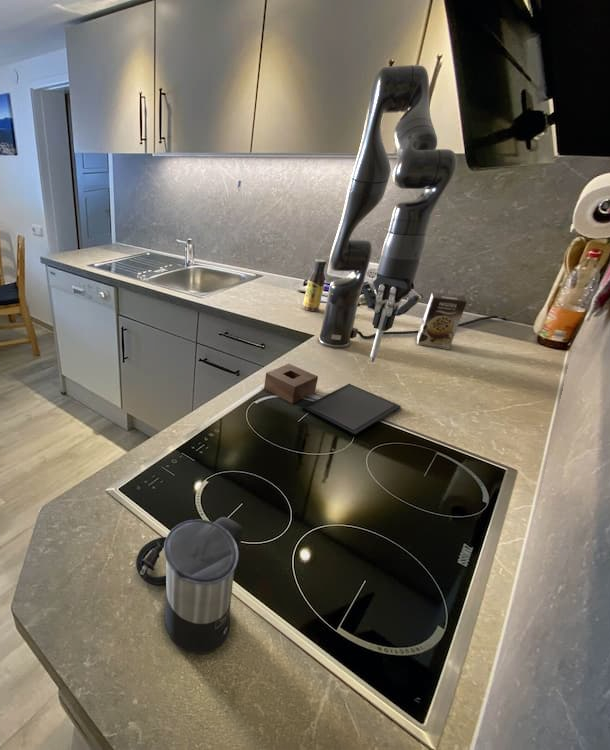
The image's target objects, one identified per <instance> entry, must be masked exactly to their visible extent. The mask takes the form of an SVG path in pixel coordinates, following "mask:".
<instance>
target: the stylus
mask: <svg viewBox="0 0 610 750" xmlns="http://www.w3.org/2000/svg"><path fill="white" fill-rule="evenodd" d="M387 309H388V307H385V308H383V310H382V314H381V318H380V321H379V325H378V329H376V332H375V334H376V336H375V337H374V340H373V345H372V348H371V351H370V362H371V363H374V362H375V359H377V358H378V354H379V351H380V350H379V349H380V347H381V342H382V339H383V336H384V335H383V332H385V331H382V326H383V322H384V318H385V316H386V313H387Z"/></svg>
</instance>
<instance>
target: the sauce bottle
mask: <svg viewBox="0 0 610 750" xmlns="http://www.w3.org/2000/svg"><path fill="white" fill-rule="evenodd" d="M326 266H327V260H326V259H322V258H318V259H317V258H316V259H315V260H314V266H313V271H312V273H311V275H310V276H309V278H308V280H307V284H306V288H305V293H304V298H303V303H302V308H303V310H305V311H308V312H316V311H318V310H319V308H320V306H321V301H322V297H323V292H324V287H325V282H326V277H325V269H326V268H325V267H326Z"/></svg>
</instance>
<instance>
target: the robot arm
mask: <svg viewBox="0 0 610 750" xmlns="http://www.w3.org/2000/svg"><path fill="white" fill-rule="evenodd" d="M429 80H430V79H429V72H428V70H427V69H426V67H425V66H423V65H420V64H411V65H392V66H391V65H390V66H383V67H381V68H379V70H378V71H377V72H376V75H375V77H374V79H373V82H372V86H371V89H370V94H369V99H368V104H367V107H366V114H365V119H364V125H363V130H362V134H361V140H360V143H359V144H360V145H359V148H358V152H357V155H356V158H355V163H354V166H353V169H352V172H351V175H350V180H349V185H348V188H347V193H346V196H345V197H346V198H345V202H344V207H343V211H342V215H341V219H340V223H339V225H338V227H337V228H338V229H337V231H336V235H335V238H334V241H333V244H332V247H331V250H330V255H329V261H328V262H329V263H328V264H329V268H330V270H332V271H335V272H350V273H349V274H348V275H345V277H342V278H338V279H335V280H333V281H331V283H330V284H329V288H328V293H327V298H326V304H325V308H324V313H323V319H322V322H321V323H322V324H321V328H320V333H319V337H318V342H319V343H320V344H322V345H324V346H326V347H330V348H346V347H348V346H349V345H350V342H351V339H354V338H357V335H359V337H360V338H362V339H365V340H366V339H369V340H370V339H373V338H375V336H376V333H373V334H371V335H364V334H363V333H362V332H361V331H360V330H359V329H358V328H356V327H354V325H355V321H356V314H357V310H358V305H359V300H360V297H361V293H363V297H364V300H365V302H366V306H367V308H368V309H370V310H373V311H374V314H373V319H372V322H371V323H372V326H373V329H376V330H377V329H378V325H379V321H380V318H381V314H382V310H383V308H388V309H387V313H386V316H385V318H384V322H383V326H382V331H384V332H383V336H385V335H414V334H418V333H419V330H420V329H418V330H402V331H401V330H400V331H389V330H391V329H392V328H393V326H394V322H395V320H396V319H395V318H396V317H400V316H403V315H405V314H406V313H407V312H409V311H410V310H411V309H412V308H414V307H415V306H416V305H417V304H418V303H419V302H420V301H421V300H423V298H424V295H423V294H422V293H418V292H417V291H416V290H415V284H414V281H415V278H416V275H417V271H418V268H419V264H420V261H421V257H422V254H423V251H424V249H425V248H424V247H425V243H426V236H427V233H428V229H429V225H430V222H431V218H432V215H433V213H434V211H435V209H436V206H437V205H438V203H439V201H440V199H441V198H442V196H443V194H444V192H445V191H446V190H447V187H448V186H449V184H450V183H451V182H452V180H453V177H454V176H455V173H456V171H457V167H458V157H457V154H456V153H455V152H454V151H453V150H452V149H449V148H447V149H446V148H440V149H439V148H437V146H438V136H437V133H436V131H435V128H434V125H433V122H432V118H431V109H430V107H431V106H430V104H431V103H430V101H431V100H430V96H431V95H430V81H429ZM397 113H398V114H399V113H404V114H403V115H402V116H401V117H400V118H399V120H398V122H397V124H396V125H395V127H394V132H393V142H394V146H395V150H396V161H395V164H394V168H393V172H392V182H393V184H394V185H395V186H396V187H397V188H399V189H401V190H423V191H422V193H421V194H420V195H419V196H418V197H417V198H415V199H410V200H406V201H402V202H399V203H397V204H396V205H395V206H394V208H393V211H392V215H391V219H390V222H389V228H388V231H387V234H386V237H385V239H384V242H383V245H382V248H381V254H380V257H379V262H378V266H377V270H376V276H375V277H374V278H373V280H372V281H370V282H366V283H365V278H366V274H367V272H368V269H369V265H370V262H371V258H372V252H373V245H372V243H371V241H369V240H364V239H350V238H351V237H352V234H353V232H354V231H355V230H356V228H357V227H358V226H359V224H360V223H361V222H362V221H363V220H364V219H365V218H366V217H367V216H368V215H369V214H370V213H371V212H372V211H373V210H374V209H375V208H376V207H377V206H378V205H379V204H380V202H381V201H382V200H383V198H384V195H385V193H386V189H387V186H388V183H389V180H390V176H391V171H392V169H391V163H390V159H389V156H388V154H387V152H386V148H385V146H384V142H383V138H382V132H381V125H382V117H383V114H397ZM375 291H376V292H375ZM407 295H408V296H407ZM406 296H407V298H406V300H407V301H405V303H404V304H402V305H401V303H402V299H404V298H405V297H406ZM400 305H401V306H400ZM386 306H387V307H386ZM496 315H497V314H495V315H494V314H493V315H489V316H482V317H478V318H476V319H472V320H469V321H464V322H461V323H459V324H458V327H457V328H460V327H464V326H467V325H471V324H474V323H476V322H479V321H485V320H486V321H487V320H491V319H499V318H498V316H496ZM500 319H501V320H502V321H507V318H506V317H505V318H500Z"/></svg>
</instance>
